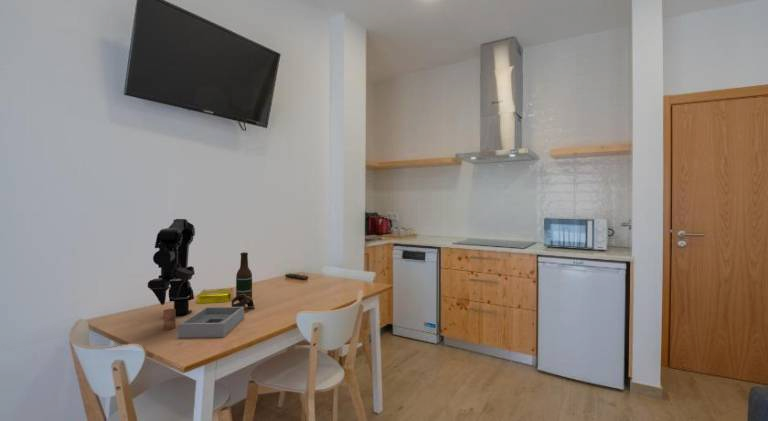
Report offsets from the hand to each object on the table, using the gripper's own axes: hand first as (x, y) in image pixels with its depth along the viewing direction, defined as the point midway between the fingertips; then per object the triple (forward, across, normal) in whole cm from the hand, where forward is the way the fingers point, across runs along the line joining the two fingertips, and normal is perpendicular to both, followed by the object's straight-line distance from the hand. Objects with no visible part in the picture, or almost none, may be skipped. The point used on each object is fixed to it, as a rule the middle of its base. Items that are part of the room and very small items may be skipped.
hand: (169, 301), depth 139 cm
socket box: (+10, 0, -17) cm, 20 cm away
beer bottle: (+11, +44, -14) cm, 47 cm away
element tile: (+11, +44, 0) cm, 45 cm away
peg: (+10, 0, 0) cm, 11 cm away
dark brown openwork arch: (+11, +25, -20) cm, 34 cm away
